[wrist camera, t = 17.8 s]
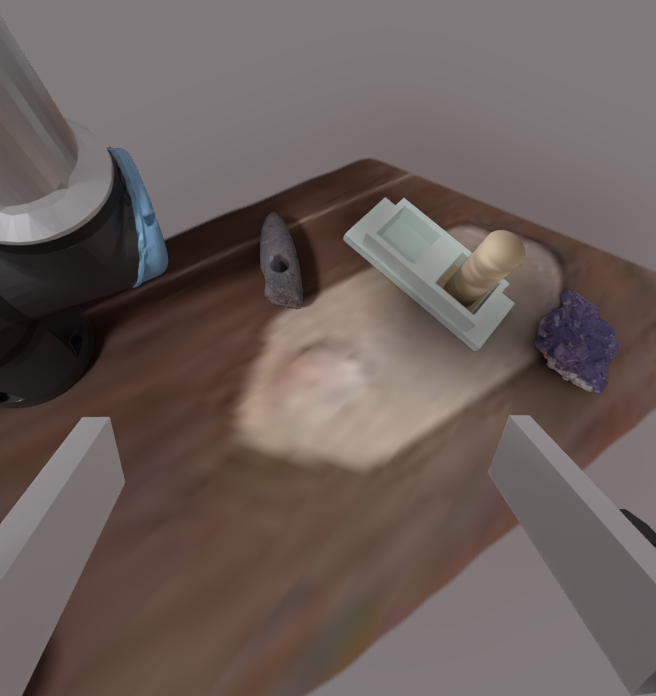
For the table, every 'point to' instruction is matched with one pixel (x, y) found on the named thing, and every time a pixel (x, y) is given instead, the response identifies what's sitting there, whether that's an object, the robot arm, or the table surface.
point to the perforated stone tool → (280, 264)
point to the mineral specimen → (577, 342)
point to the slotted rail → (426, 268)
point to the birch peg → (486, 267)
